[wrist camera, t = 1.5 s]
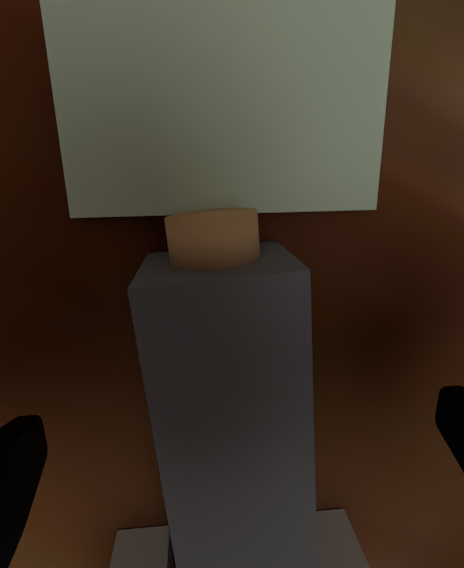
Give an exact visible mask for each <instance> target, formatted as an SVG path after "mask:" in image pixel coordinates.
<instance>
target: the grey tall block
mask: <svg viewBox="0 0 464 568" xmlns="http://www.w3.org/2000/svg"><path fill="white" fill-rule="evenodd" d="M164 222H165V229H166V236H167V243H168V251H164V252H155V253H148V254H147V256H146V257H145V259H144V261H143V263H142V264H141V266H140V268H139V270H138V271H137V273H136V275H135V277H134V278H133V280H132V282H131V284H130V285H129V287H128V289H127V292H128V298H129V304H130V309H131V315H132V321H133V326H134V332H135V338H136V343H137V349H138V355H139V360H140V366H141V372H142V377H143V383H144V389H145V394H146V400H147V406H148V411H149V417H150V423H151V428H152V434H153V440H154V445H155V451H156V457H157V462H158V468H159V474H160V479H161V485H162V491H163V496H164V502H165V508H166V513H167V519H168V525H169V530H170V536H171V542H172V547H173V553H174V559H175V564H176V568H318V560H317V519H316V478H315V437H314V396H313V356H312V315H311V274H310V269H309V268H308V267H307V266H306V265H304V264H303V263H302V262H301V261H300V260H298V259H297V258H296V257H295V256H294V255H293V254H291V253H290V252H289V251H288V250H287V249H286V248H284V247H283V246H282V245H281V244H280V243H279V242H277V241H276V240H272V241H262V242H259V228H258V213H257V209H254V208H219V209H207V210H198V211H191V212H185V213H179V214H174V215H171V216H167V217H165V218H164Z"/></svg>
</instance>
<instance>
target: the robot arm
mask: <svg viewBox="0 0 464 568" xmlns="http://www.w3.org/2000/svg"><path fill="white" fill-rule="evenodd" d="M435 421H436V425H437V427H438V429H439V431H440V433H441V435H442V436H443V438H444V440H445V441H446V443H447V445H448V446H449V448H450V450H451V452H452V453H453V455H454V457H455V458H456V460H457V462H458V463H459V465H460V467H461V469H462V470H463V472H464V387H463V386H458V385H457V386H445V387H443V388H441V389H440V391H439V396H438V402H437V408H436V414H435ZM46 458H47V442H46V437H45V432H44V427H43V422H42V419H41V417H40V416H38V415H28V416H19V417H17V418H15V419H13V420H12V421H10V422H9V423H7V424H5V425H4V426H2V427H0V568H8V567H9V565H10V562H11V560H12V558H13V555H14V553H15V551H16V548H17V546H18V543H19V541H20V538H21V536H22V534H23V531H24V528H25V525H26V522H27V519H28V516H29V513H30V510H31V506H32V503H33V500H34V497H35V494H36V490H37V487H38V484H39V481H40V478H41V474H42V471H43V468H44V465H45V462H46Z"/></svg>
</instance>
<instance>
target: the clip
mask: <svg viewBox="0 0 464 568" xmlns="http://www.w3.org/2000/svg"><path fill="white" fill-rule="evenodd" d="M316 519H317V560H318V568H370V567H369V565H368V562H367V560H366V558H365V556H364V553H363V551H362V549H361V546H360V544H359V542H358V540H357V537H356V535H355V533H354V531H353V528H352V526H351V524H350V521H349V519H348V517H347V515H346V512H345V510H344V509H334V510H324V511H316ZM109 568H173V558H172V546H171V536H170V530H169V525H167V526H157V527H146V528H136V529H126V530H117V535H116V539H115V544H114V548H113V553H112V558H111V562H110V567H109Z"/></svg>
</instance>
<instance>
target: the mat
mask: <svg viewBox="0 0 464 568" xmlns="http://www.w3.org/2000/svg"><path fill="white" fill-rule="evenodd" d="M395 3H396V0H40V7H41V14H42V21H43V28H44V35H45V42H46V49H47V57H48V64H49V71H50V78H51V85H52V92H53V99H54V106H55V114H56V121H57V128H58V135H59V142H60V149H61V156H62V163H63V171H64V178H65V185H66V192H67V199H68V206H69V213H70V218H89V217H126V216H163V215H174V214H179V213H185V212H191V211H198V210H207V209H219V208H254V209H257V213H274V212H310V211H347V210H376V207H377V197H378V186H379V175H380V164H381V154H382V143H383V132H384V121H385V111H386V100H387V89H388V78H389V68H390V57H391V46H392V35H393V25H394V14H395Z"/></svg>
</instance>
